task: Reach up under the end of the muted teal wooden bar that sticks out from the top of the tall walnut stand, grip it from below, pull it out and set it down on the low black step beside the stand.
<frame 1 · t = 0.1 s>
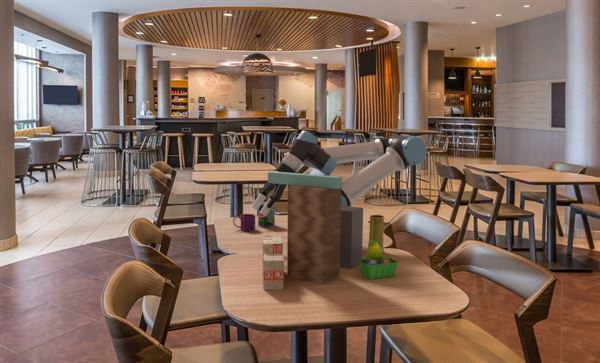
hand: (258, 211, 208), 15 cm above the table, tool tilted 35°, fingers open, 13 cm apart
stand: (313, 276, 176), on the table
step: (341, 262, 193), on the table
bar: (303, 185, 174), point 30 cm above the table, touching stand
canned tomato: (266, 226, 256), on the table
stack of blocks: (272, 280, 173), on the table
fruit basket: (376, 275, 179), on the table
vase: (375, 252, 208), on the table
mug: (244, 230, 246), on the table
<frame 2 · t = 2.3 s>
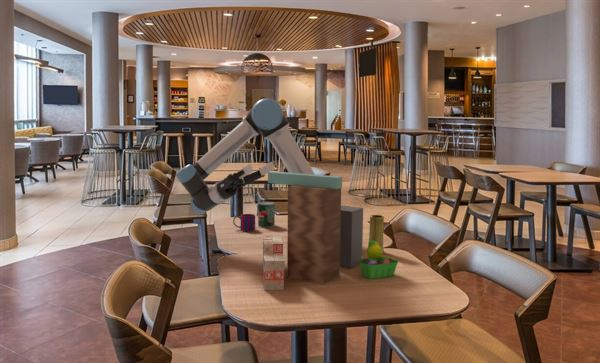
hand: (262, 166, 195), 34 cm above the table, tool pointing upward, fingers open, 13 cm apart
nothing on the table moved.
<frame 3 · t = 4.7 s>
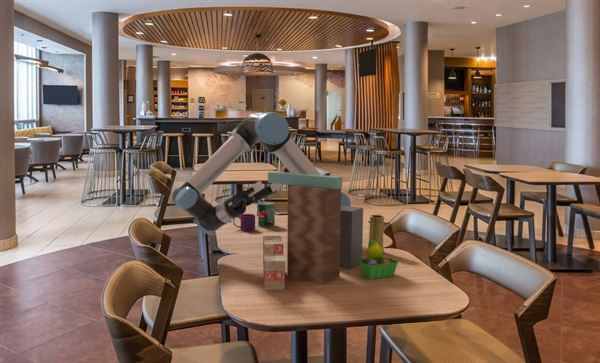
hand: (273, 182, 179), 30 cm above the table, tool pointing upward, fingers open, 13 cm apart
nothing on the table moved.
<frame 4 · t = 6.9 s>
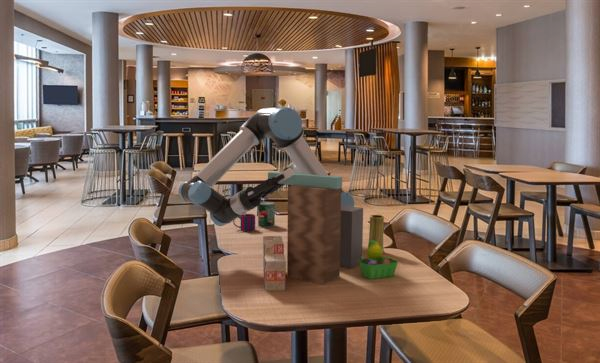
hand: (295, 170, 175), 35 cm above the table, tool pointing upward, fingers closed on bar, 3 cm apart
bar: (303, 185, 174), point 30 cm above the table, touching gripper, stand
everything else where it was.
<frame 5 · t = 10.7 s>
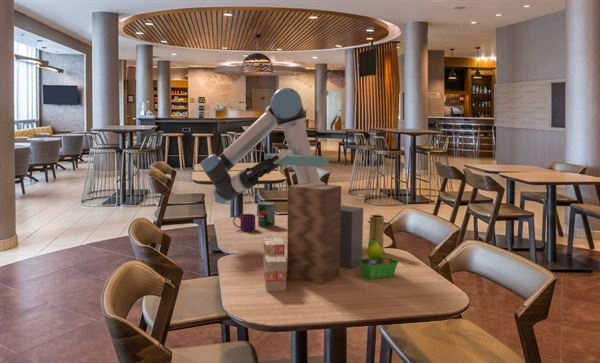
hand: (288, 152, 199), 39 cm above the table, tool pointing upward, fingers closed on bar, 3 cm apart
bar: (295, 164, 198), point 34 cm above the table, touching gripper
when the fingers open (26 cm above the table, at t = 14.5 s): bar drops 2 cm, resting on step.
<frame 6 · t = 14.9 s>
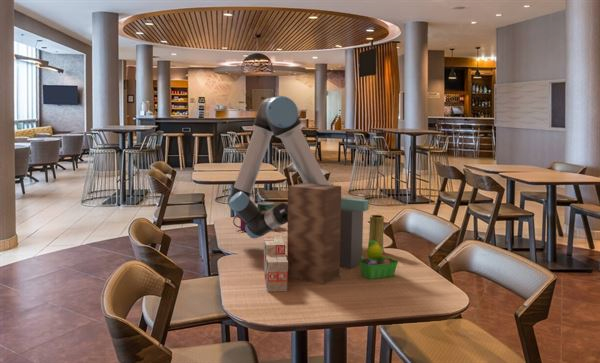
hand: (324, 190, 193), 26 cm above the table, tool pointing upward, fingers open, 9 cm apart
bar: (333, 206, 192), point 20 cm above the table, touching step
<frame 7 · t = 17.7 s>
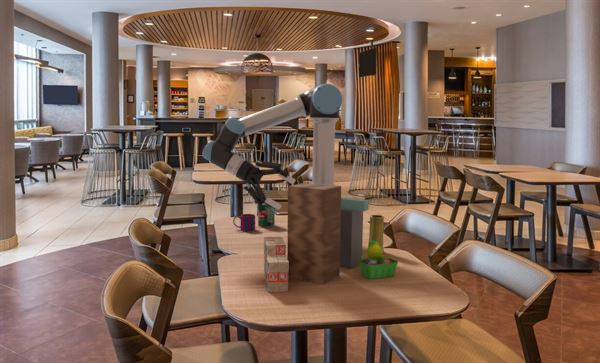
hand: (287, 195, 207), 22 cm above the table, tool tilted 60°, fingers open, 13 cm apart
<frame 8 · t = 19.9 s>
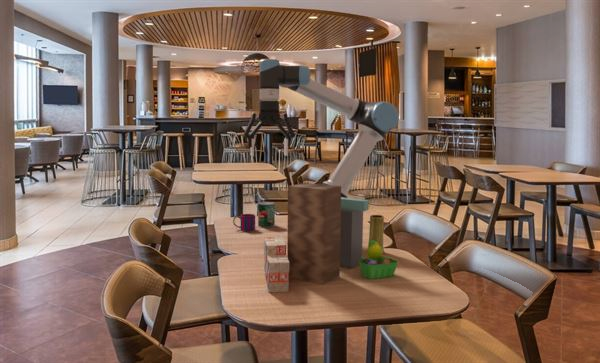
hand: (269, 155, 208), 37 cm above the table, tool pointing down, fingers open, 13 cm apart
at the end: bar inside the target area on the step (3.7 cm from its centre), point 20.0 cm above the step's base; the gripper is holding nothing; bar touching step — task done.
